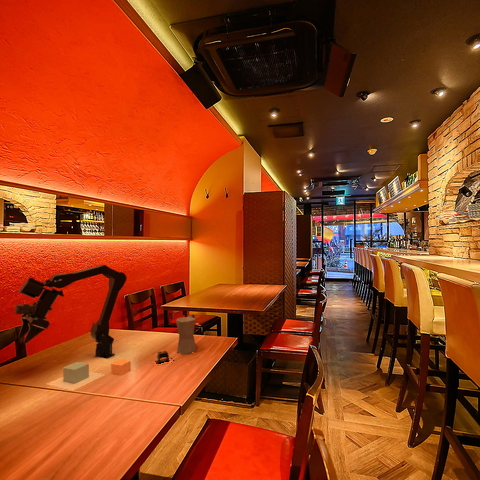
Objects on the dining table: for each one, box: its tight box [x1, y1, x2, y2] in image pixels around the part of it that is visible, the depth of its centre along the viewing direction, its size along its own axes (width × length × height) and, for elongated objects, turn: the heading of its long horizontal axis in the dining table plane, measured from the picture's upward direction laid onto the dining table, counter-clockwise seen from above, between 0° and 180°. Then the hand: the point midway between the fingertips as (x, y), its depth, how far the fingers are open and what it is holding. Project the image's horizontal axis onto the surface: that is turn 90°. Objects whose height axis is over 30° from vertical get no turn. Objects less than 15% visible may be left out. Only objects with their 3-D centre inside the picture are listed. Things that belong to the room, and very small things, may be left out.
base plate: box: [45, 370, 106, 392], centre depth 115 cm, size 14×14×1 cm
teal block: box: [62, 361, 90, 384], centre depth 115 cm, size 6×6×5 cm
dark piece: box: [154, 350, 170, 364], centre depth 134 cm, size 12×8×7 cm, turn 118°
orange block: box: [110, 359, 132, 376], centre depth 121 cm, size 5×5×5 cm
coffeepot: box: [175, 312, 197, 355], centre depth 147 cm, size 15×9×18 cm, turn 162°
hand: (22, 340), depth 121 cm, fingers open, 9 cm apart
